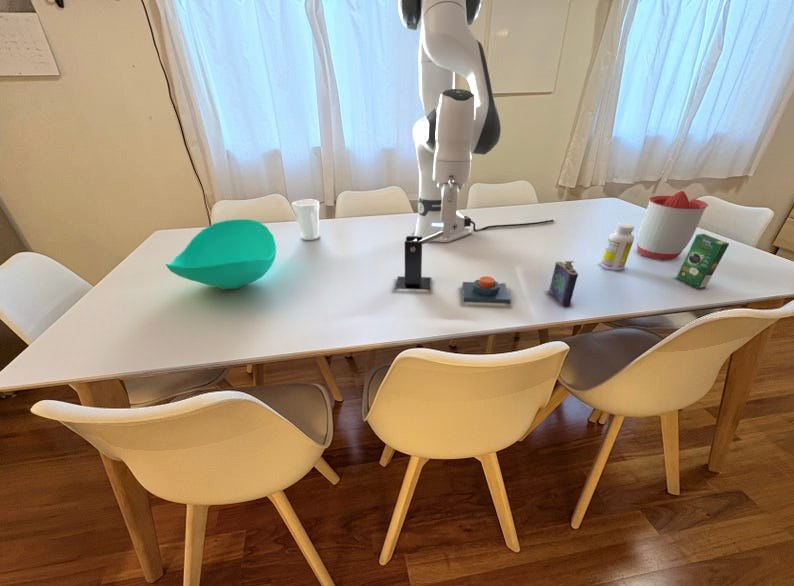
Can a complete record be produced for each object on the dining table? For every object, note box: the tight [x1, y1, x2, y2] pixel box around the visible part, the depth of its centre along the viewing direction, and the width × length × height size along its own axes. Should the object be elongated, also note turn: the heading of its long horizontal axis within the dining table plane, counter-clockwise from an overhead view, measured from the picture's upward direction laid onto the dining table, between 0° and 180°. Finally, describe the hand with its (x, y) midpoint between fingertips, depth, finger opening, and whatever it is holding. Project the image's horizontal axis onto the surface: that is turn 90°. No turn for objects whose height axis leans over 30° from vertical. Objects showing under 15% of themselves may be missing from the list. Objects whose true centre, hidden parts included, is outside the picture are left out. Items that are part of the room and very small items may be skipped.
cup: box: [291, 198, 320, 241], centre depth 140 cm, size 10×10×13 cm
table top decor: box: [165, 218, 277, 290], centre depth 108 cm, size 40×28×13 cm
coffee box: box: [676, 233, 730, 290], centre depth 104 cm, size 8×3×13 cm, turn 13°
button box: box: [461, 279, 512, 304], centre depth 101 cm, size 12×10×4 cm
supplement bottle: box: [600, 222, 635, 271], centre depth 114 cm, size 7×7×13 cm
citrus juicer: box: [636, 190, 709, 261], centre depth 121 cm, size 16×17×20 cm
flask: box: [548, 260, 579, 308], centre depth 98 cm, size 9×3×11 cm, turn 8°
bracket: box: [394, 235, 432, 291], centre depth 104 cm, size 10×8×14 cm
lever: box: [412, 230, 451, 246], centre depth 100 cm, size 12×5×2 cm, turn 83°
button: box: [478, 276, 496, 288], centre depth 99 cm, size 4×4×2 cm
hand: (446, 230), depth 98 cm, fingers open, 8 cm apart
